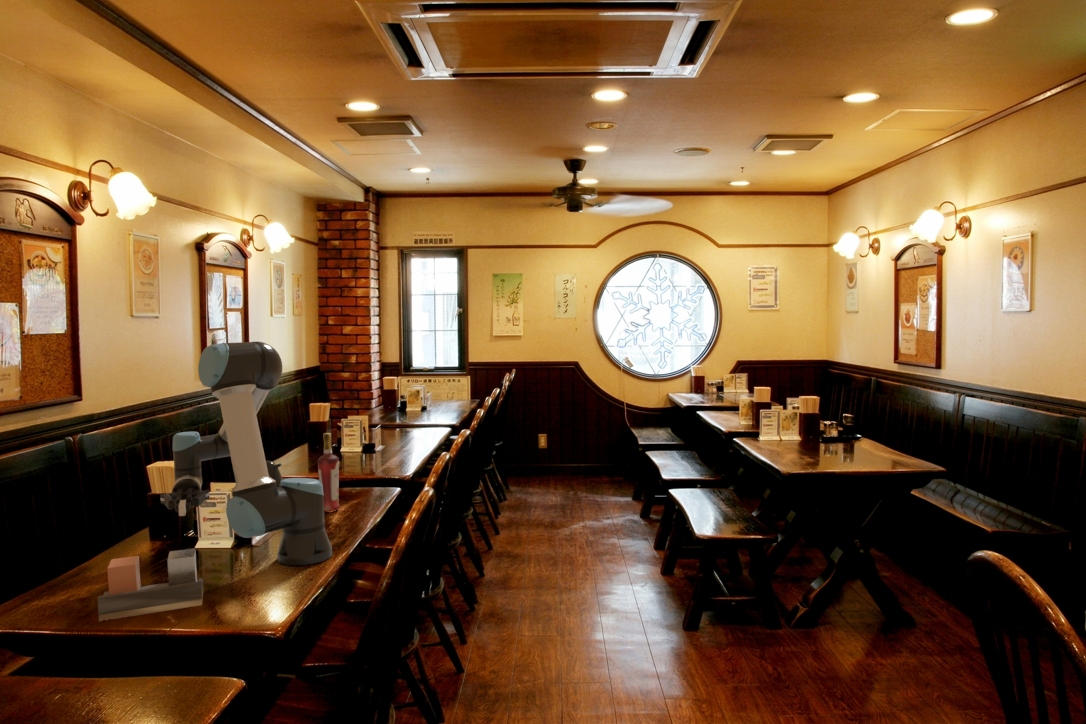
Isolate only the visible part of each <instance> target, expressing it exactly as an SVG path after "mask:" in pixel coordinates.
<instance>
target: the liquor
mask: <svg viewBox="0 0 1086 724" xmlns="http://www.w3.org/2000/svg"><path fill="white" fill-rule="evenodd" d="M322 436H323V455H321V456H319V458H317V468H318V470H317V471H318V480H319V481H320V482H321V483H322V486H323V493H324V496H323V500H324V511H332V510H337V509H338V510H339V509H340V508H341V505H340V503H339V501H340V499H339V496H340V495H339V493H340V491H339V490H340V489H339V487H340V486H339V483H340V481H339V480H340V479H339V478H340V475H339V474H340V469H339V468H340V465H339V464H340V458H339V457H338V456H336V455H335V454H333V450H332V448H333V447H332V443H331V442H332V433H330V432H324V433H323V435H322ZM338 510H337V511H338Z"/></svg>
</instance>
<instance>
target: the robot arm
mask: <svg viewBox="0 0 1086 724" xmlns="http://www.w3.org/2000/svg"><path fill="white" fill-rule="evenodd" d="M197 366H198V367H197V369H198V370H197V372H198V378H199V381H200V382H201V384H202V386H204V387H206V388H210V390H211V391H210V392H211V395H212V396H213V397H215V398H216V399H218V400H219V406H220V409H221V414H222V415H221V416H222V421H223V423H222V425H221V426H220V428H219V430H218V433H216V434H211V435H209V434H208V435H205V436H204V435H203V436H200V433H199V432H198V431H182V432H177V433H176V434H174V435H173V437H172V447H171V448H172V455H173V466H174V468H173V472H174V473H173V474H174V477H173V478H174V484H173V487H172V490H171V492H170V493H167V494H166V493H162V494H160V495H159V496H160V504H161V505H165V507H166V508H167V509H168V510H170V511H172V510H175V513H178V516H179V517H185V516H186V515H187V514H186V513H187V511H188V510H191V509H192V507H193V508H198V507H200V506H201V505H202V504H203V503H204V502H205V501H206V500H209V499H211V498H210V489H205V490H202V485H203V481H204V480H203V476H202V462H203V461H204V462H205V461H209V460H214V459H221V458H226V457H230V460H231V464H232V471H233V475H234V480H235V485H234V487H233V489H231V495H232V497H231V498H229V499H228V501H227V502H226V509H225V512H226V518H227V520H228V523H229V525H230V527H231V528H232V531H233V532H235V533H236V534H237V535H238V536H239V537H241V538H247V539H249V538H254V537H261V536H263V535H266V534H270V533H273V532H276V531H277V532H278V531H279V530H282V536H281V539H280V543H279V546H278V550H277V552H276V553H277V555H276V556H277V562H278V563H279V562H280V563H282V564H281V565H283V564H285V566H288V565H303V566H308V564H310V565H314V563H315V564H318V562H319V563H321V562H324V561H326V560H328V559H329V558H331V557H332V556H333V547H332V544H331V541H330V539H329V537H328V534H327V531H326V527H325V512H324V500H323V496H324V493H323V486H322V483H321V482H320V481H319V479H316V478H309V477H307V478H306V477H291V478H290V477H289V478H282V480H281V483H280V485H281V487H278V488H277V485H276V481H275V480H273V479H272V478H270V477H269V474H268V470H267V465H266V461H267V460H266V456H265V452H264V447H263V442H262V436H261V430H260V426H259V421H258V416H257V414H258V412H259V411H260V408H261V407H262V405H263V403H264V402H265V400H266V398H267V396H268V395H269V393H270V391H271V390H274V389H275V388H276V387H277V385H278V384H279V382H280V379H281V378H282V375H283V361H282V358H281V356H280V354H279V352H278V351H277V350H276V349H275V348H274V347H273V346H271V345H270V344H268V343H265V342H262V341H249V342H247V341H245V342H243V341H242V342H241V341H240V342H222V343H216V344H210V345H208V346H206V347H205V348H204V349H203V351H202V352H201V355H200V358H199V361H198V365H197ZM280 563H279V564H280Z"/></svg>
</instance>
